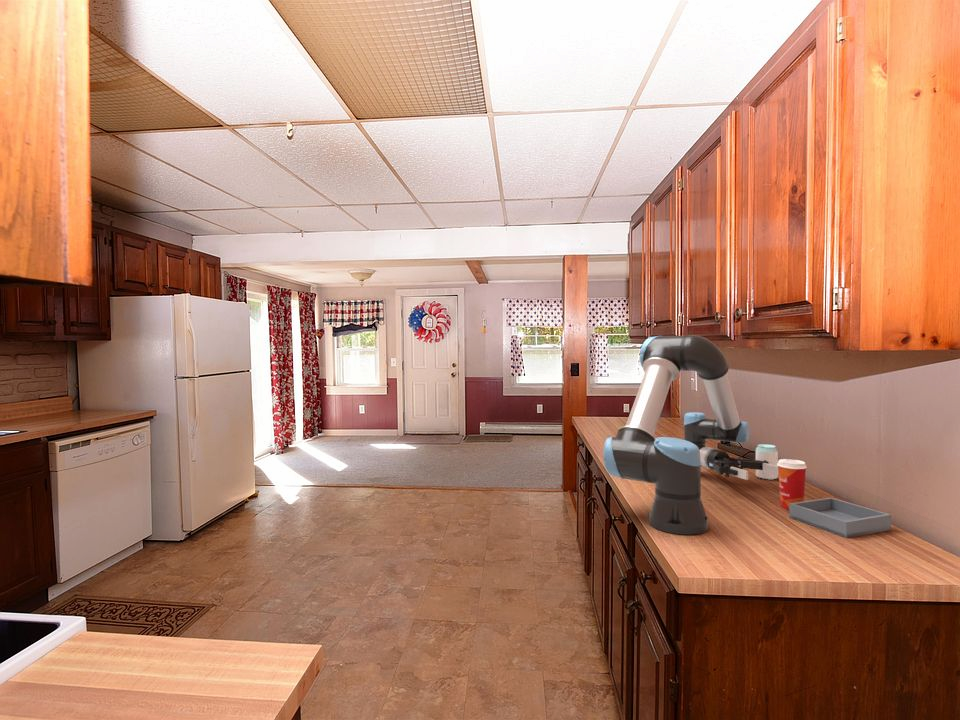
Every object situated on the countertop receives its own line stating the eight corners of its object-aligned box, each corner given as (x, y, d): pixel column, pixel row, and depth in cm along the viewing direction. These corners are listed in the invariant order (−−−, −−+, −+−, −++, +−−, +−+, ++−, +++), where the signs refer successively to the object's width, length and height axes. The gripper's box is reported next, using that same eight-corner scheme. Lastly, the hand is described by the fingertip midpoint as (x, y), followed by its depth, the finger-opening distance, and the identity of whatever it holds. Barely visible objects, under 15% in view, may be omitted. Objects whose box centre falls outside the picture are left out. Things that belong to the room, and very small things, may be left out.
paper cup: (776, 502, 152) (776, 457, 152) (806, 505, 148) (806, 460, 148) (777, 509, 146) (777, 463, 145) (808, 513, 142) (808, 465, 141)
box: (846, 538, 124) (846, 522, 124) (789, 517, 139) (789, 503, 139) (891, 529, 128) (891, 514, 128) (831, 510, 144) (831, 497, 144)
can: (771, 481, 175) (771, 448, 175) (751, 477, 181) (751, 445, 181) (782, 478, 179) (781, 446, 178) (762, 474, 185) (762, 443, 184)
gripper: (741, 466, 180) (794, 481, 160) (685, 473, 173) (733, 489, 153) (741, 446, 180) (794, 458, 160) (685, 451, 173) (732, 465, 152)
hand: (764, 473), depth 156 cm, fingers open, 13 cm apart
